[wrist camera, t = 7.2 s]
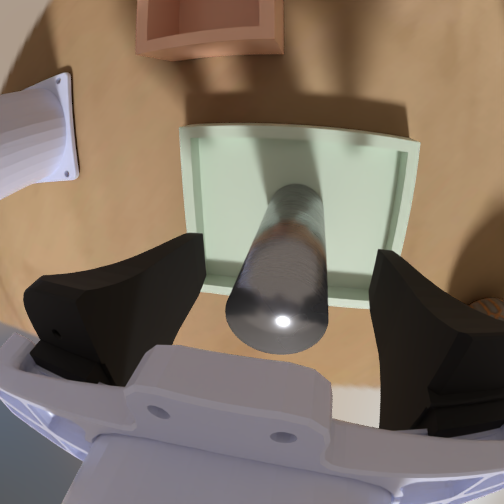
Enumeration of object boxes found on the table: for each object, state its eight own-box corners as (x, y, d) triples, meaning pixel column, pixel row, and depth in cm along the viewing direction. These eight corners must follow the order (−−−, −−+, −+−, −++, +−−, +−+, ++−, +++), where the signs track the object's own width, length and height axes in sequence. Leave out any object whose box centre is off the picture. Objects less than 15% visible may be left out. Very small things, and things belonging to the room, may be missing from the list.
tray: (202, 275, 20) (193, 290, 19) (192, 124, 16) (179, 127, 14) (380, 293, 18) (385, 310, 17) (409, 138, 14) (420, 142, 12)
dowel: (271, 234, 17) (232, 350, 10) (267, 184, 16) (218, 274, 8) (323, 235, 17) (324, 356, 9) (323, 183, 15) (331, 277, 7)
